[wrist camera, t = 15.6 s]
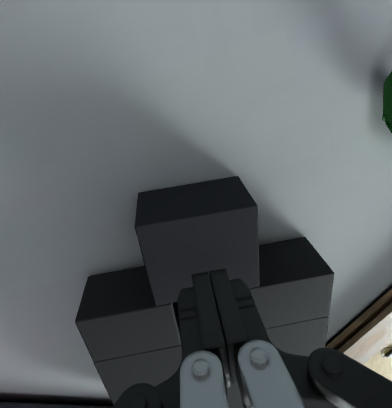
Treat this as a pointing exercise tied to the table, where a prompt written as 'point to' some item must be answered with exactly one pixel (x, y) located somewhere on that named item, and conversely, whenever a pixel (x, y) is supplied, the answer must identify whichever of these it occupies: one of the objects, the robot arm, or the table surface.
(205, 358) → the robot arm
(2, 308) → the table surface
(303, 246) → the base pad
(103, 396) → the table surface
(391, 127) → the flower
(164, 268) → the small pad
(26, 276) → the table surface
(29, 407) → the storage bin
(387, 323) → the picture frame
